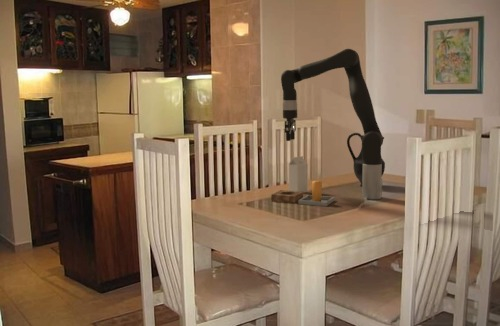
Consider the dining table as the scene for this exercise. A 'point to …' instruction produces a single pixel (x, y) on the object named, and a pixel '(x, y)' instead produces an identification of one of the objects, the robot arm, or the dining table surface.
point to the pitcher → (360, 160)
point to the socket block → (287, 196)
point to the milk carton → (298, 175)
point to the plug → (316, 191)
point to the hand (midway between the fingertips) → (290, 140)
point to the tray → (308, 201)
